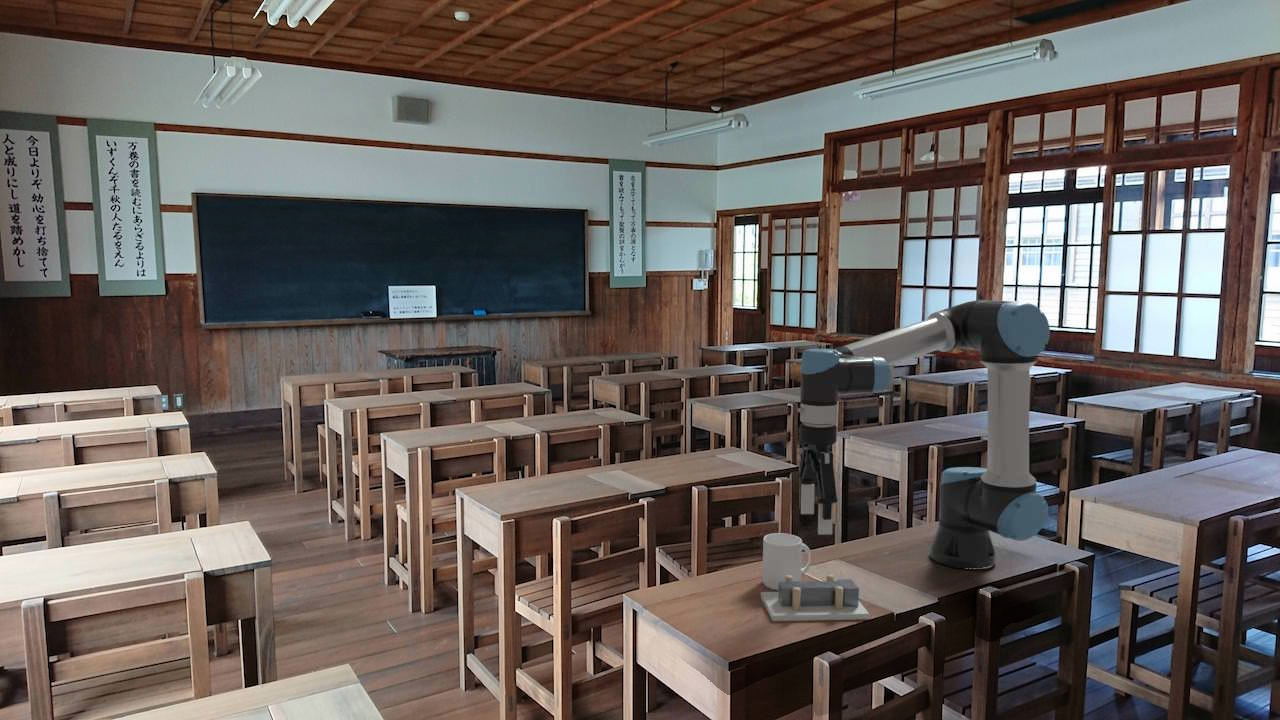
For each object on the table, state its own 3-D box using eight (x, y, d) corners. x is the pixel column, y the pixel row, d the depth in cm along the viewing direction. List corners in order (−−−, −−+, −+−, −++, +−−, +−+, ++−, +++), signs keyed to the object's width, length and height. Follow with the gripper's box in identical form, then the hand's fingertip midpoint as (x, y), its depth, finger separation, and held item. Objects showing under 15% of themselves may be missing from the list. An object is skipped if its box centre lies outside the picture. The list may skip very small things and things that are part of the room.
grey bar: (850, 597, 172) (851, 579, 171) (858, 606, 167) (858, 588, 166) (777, 598, 171) (777, 580, 171) (782, 608, 166) (783, 589, 166)
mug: (820, 586, 181) (822, 541, 179) (774, 594, 176) (775, 547, 175) (800, 573, 189) (801, 529, 187) (755, 580, 184) (756, 535, 183)
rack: (850, 595, 176) (851, 570, 175) (869, 619, 164) (869, 592, 163) (760, 597, 174) (761, 572, 174) (772, 621, 163) (773, 594, 162)
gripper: (786, 413, 177) (784, 506, 179) (816, 436, 152) (814, 543, 155) (819, 412, 177) (817, 505, 180) (855, 435, 153) (852, 543, 155)
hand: (815, 523), depth 167 cm, fingers open, 13 cm apart
